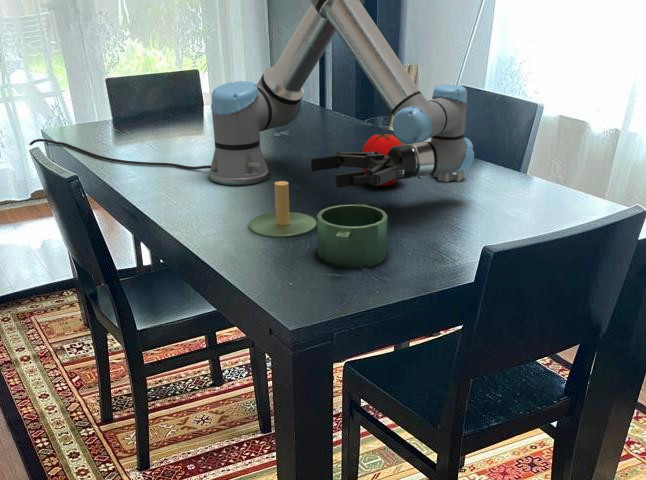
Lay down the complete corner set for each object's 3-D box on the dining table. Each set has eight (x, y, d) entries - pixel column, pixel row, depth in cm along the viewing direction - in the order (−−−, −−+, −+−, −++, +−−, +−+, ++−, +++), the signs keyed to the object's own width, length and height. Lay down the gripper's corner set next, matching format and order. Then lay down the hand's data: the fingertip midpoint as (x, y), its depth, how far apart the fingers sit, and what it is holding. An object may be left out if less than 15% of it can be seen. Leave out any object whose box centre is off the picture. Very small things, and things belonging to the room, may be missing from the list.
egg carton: (465, 181, 197) (467, 166, 195) (437, 182, 196) (438, 167, 194) (454, 169, 206) (455, 154, 204) (427, 170, 206) (428, 155, 204)
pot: (307, 271, 147) (306, 229, 143) (329, 236, 163) (329, 198, 159) (376, 277, 144) (377, 235, 140) (392, 241, 160) (394, 202, 156)
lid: (240, 237, 163) (237, 191, 158) (261, 214, 176) (259, 171, 171) (306, 243, 160) (306, 196, 155) (323, 219, 172) (323, 175, 168)
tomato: (353, 189, 192) (353, 136, 186) (369, 175, 202) (370, 125, 196) (397, 194, 188) (399, 140, 182) (411, 180, 198) (413, 129, 192)
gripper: (436, 192, 165) (347, 206, 157) (383, 164, 185) (302, 174, 177) (438, 158, 161) (347, 170, 154) (384, 132, 181) (301, 142, 174)
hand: (323, 172), depth 166 cm, fingers open, 13 cm apart
